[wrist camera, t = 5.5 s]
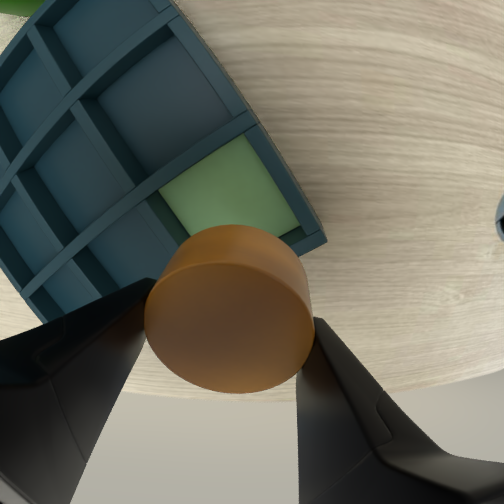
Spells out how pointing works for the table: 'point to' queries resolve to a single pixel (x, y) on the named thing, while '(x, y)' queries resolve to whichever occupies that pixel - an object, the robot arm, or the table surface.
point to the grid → (126, 152)
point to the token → (231, 311)
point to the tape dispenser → (20, 7)
